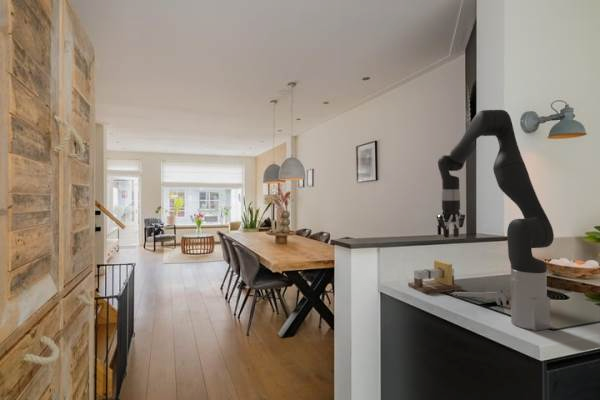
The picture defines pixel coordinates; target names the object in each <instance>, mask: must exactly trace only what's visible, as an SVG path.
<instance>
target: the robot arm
mask: <svg viewBox="0 0 600 400" xmlns="http://www.w3.org/2000/svg"><path fill="white" fill-rule="evenodd" d="M489 136H490V137H491V136H493V137H495V138H496V139H497V141H498V145H499V147H498V148H499V149H498V152H497V156H496V157H495V160H494V163H493V167H492V170H493V173H494V178H495V179H496V183H497V185H498V187H499V189H500V190H501V191H502V192H503V194H505V195H506V196H507V198H509V199H510V200H511V201H512V202H514V204H515V205H516V206H517V207H518V208H519V210H520V212H521V213H522V214H521V215H523V218H514V219H512V220H511V221H510V222H509V223H508V227H507V231H506V233H507V234H506V236H507V237H506V238H507V253H508V259H509V263H510V317H511V319H510V322H511V323H512V324H513V325H515V326H517V327H520V328H523V329H528V330H532V331H534V332H536V331H542V330H543V331H544V330H549V329H551V297H549V296H548V295H547V294H548V292H547V285H548V284H547V281H548V280H547V279H548V278H547V275H548V273H547V269H548V267H547V263H546V261H544V260H541V259H538V258H536V257H535V256H534V255H533V252H532V249H540V248H541V249H543V248H548V247H550V246H551V245H552V243H553V242H554V236H555V235H554V229H553V226H552V224H551V222H550V219H549V218H548V216H547V214H546V211H545V210H544V208H543V206H542V204H541V203H540V200H539V198H538V195H537V194H536V190H535V189H534V185H533V184H532V181H531V178H530V175H529V172H528V170H527V167H526V163H525V161H524V159H523V156H522V153H521V150H520V149H519V145H518V142H517V139H516V134H515V129H514V125H513V122H512V118H511V116H510V114H509V113H508V111H506V110H504V109H483V110H480V111H479V112H477V113H476V114H475V116H474V117H473V118H472V120H471V121H470V123H469V125H468V126H467V128H466V130H465V132H464V134H463V136H462V138H461V139H460V140H459V142H458V143H457V144H456V145H455V146H454V147H453V148H452V149H451V150H450V152H449V153H450V154H449V155H447V154H446V155H441V156H440V157H439V158H438V161H437V166H438V167H437V168H438V170H439V173H440V176H441V181H442V182H441V183H442V185H441V187H442V191H441V209H442V214H437V215H436V219H437V223H438V227H439V228H441V229H442V230H443V231H442V232H443V237H444V238H447V239H448V238H450V237H449V235H450V231H449V230H450V229H449V228H450V226H451V224H452V227H453V233H452V234H453V238H458V237H459V235H460V231H459V230H460V228H463V227H464V223H465V218H466V215H465V214H463V213H460V210H461V191H460V178H459V176H456V175H452V174H451V173H450V172H458V171H460V170H462V169H463V168H464V165H465V163H466V161H467V159H468V158H469V157H471V156H472V154H473V153H474V152H475V150H476V139H478V138H480V137H489Z"/></svg>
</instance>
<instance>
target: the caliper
mask: <svg viewBox="0 0 600 400" xmlns="http://www.w3.org/2000/svg"><path fill="white" fill-rule="evenodd" d="M451 294H453V296H455V295H457V296H456V297H466V298H467V297H468V298H470V297H472V298H484V300H486V301H487V300H494V301H495V302H496V304H497V306H498V305H501V306H502V305H503V307H504V308H505V307H507V296H506V292H504V291H503V290H502V289H496V291H484V292H465V291H464V292H463V291H452V293H450V295H451ZM500 299H501V300H500ZM501 302H502V304H501Z"/></svg>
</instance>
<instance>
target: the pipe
mask: <svg viewBox="0 0 600 400" xmlns="http://www.w3.org/2000/svg"><path fill="white" fill-rule="evenodd" d="M413 276H414V277H413V278H416V279H423V280H427V279H429V280H430V279H434V278H438V277H444V269H442V268H440V269H434V268H431V269H420V270H419V269H417V270H414V271H413ZM452 276H454V277H455V268H452Z"/></svg>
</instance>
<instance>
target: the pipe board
mask: <svg viewBox="0 0 600 400" xmlns="http://www.w3.org/2000/svg"><path fill="white" fill-rule="evenodd" d="M413 278H414V277H413ZM423 280H424V279H416V278H414V279H413V282H408V283H407V285H408V287H409V288H411V289H413V290H415V291H418V292H420V293H422V294H424V295H426V294H427V295H428V294H434V293H444V291H447V292H453V291H452V290H455V291H462V290H463V289H462V285H459V284H457V283H455V275H454V276H452V285H449V286H448V285H445V284H443V283H440V282H437V281H435V280H424V281H423Z"/></svg>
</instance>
